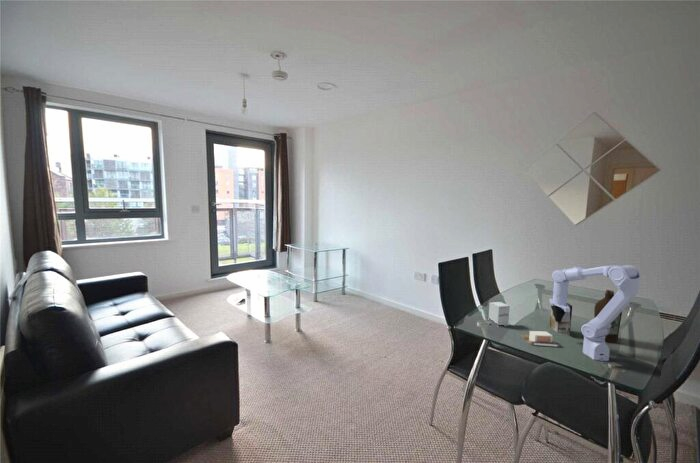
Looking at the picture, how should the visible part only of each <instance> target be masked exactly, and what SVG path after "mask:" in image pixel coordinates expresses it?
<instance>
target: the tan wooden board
mask: <svg viewBox="0 0 700 463" xmlns="http://www.w3.org/2000/svg"><path fill="white" fill-rule="evenodd" d="M519 335H520V336H521V338H523V339H524V340H525V341H526V343H528V345H530V346H532V345H531V341H530V340H529V334H521V333H520V334H519ZM552 343H556V342H555V341H554V340H552ZM533 346H534V347H535V346H536V345H533ZM547 347H549V346H547ZM549 348H550V347H549ZM558 348H561V346H559V347H558Z"/></svg>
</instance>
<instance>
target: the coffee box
mask: <svg viewBox="0 0 700 463" xmlns="http://www.w3.org/2000/svg"><path fill="white" fill-rule="evenodd" d="M567 305H568V307H569V308H570V312H566V313H565V314H564V316H563V318H562V320H561V322H556V321H555V318H554V313H553V310H552V308H551V306H554V305H552V304H550V317H549V318H550V320H549V327H550V328H552V329H553V331H555V332H556V333H560V334H561V333H563V334H565V335H567V336H568V337H569V336H571V326H572V315H573V305H572V304H570V303H568V302H567Z"/></svg>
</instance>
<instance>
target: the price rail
mask: <svg viewBox="0 0 700 463" xmlns="http://www.w3.org/2000/svg"><path fill="white" fill-rule="evenodd" d="M534 345H536V346H538V347H548V346H549V348H560V347H561V346H560V343H558V342H555V343H549V342H535V341H531V345H530V346H534ZM559 346H560V347H559Z"/></svg>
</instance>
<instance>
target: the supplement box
mask: <svg viewBox="0 0 700 463" xmlns="http://www.w3.org/2000/svg"><path fill="white" fill-rule="evenodd" d="M510 308H511V307H510V304H506V303H504V302H502V301H495V302H489V306H488V319H489V318H490V319H491V320H493V321H494V322H495V323H497V324H499V325H504V326H503V327H508V326H509V321H510V320H509V318H510Z"/></svg>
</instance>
